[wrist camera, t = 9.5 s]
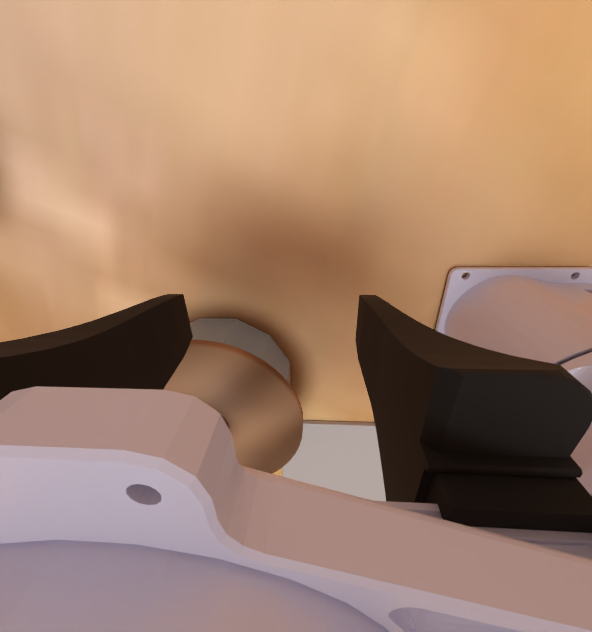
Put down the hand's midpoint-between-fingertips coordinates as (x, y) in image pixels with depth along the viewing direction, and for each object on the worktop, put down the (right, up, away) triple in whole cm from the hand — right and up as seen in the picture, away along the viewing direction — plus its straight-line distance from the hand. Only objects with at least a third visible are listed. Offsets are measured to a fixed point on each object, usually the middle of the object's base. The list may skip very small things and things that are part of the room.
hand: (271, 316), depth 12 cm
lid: (-5, -8, +10) cm, 14 cm away
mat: (+8, -18, +20) cm, 28 cm away
